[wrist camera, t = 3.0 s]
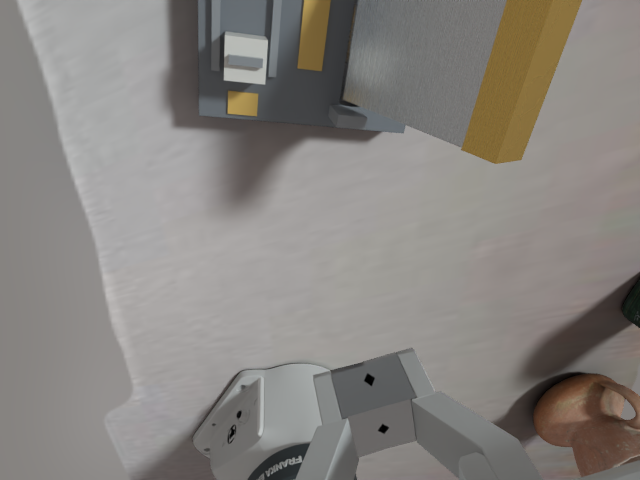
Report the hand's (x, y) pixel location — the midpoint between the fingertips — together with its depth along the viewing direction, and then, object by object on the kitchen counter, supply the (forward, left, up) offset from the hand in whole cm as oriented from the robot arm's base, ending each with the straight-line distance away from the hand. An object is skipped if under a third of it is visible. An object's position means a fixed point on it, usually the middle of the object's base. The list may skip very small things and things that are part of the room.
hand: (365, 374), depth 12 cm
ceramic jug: (-2, -66, -31) cm, 73 cm away
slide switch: (+2, +5, -28) cm, 29 cm away
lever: (+9, 0, -26) cm, 28 cm away
